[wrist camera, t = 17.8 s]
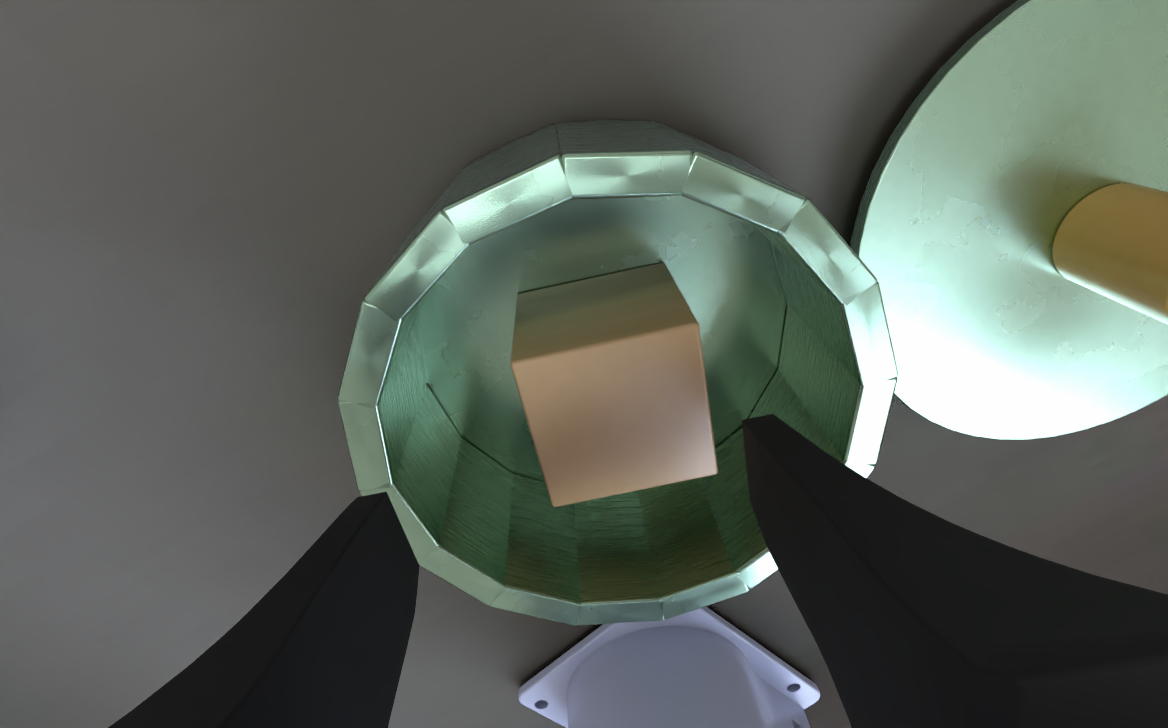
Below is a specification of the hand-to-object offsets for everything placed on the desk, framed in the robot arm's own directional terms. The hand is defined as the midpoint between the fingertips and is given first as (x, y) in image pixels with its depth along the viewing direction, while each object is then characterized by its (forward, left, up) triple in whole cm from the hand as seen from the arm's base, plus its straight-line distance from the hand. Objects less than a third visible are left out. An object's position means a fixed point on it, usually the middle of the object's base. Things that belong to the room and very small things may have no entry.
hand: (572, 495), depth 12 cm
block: (0, -1, -6) cm, 6 cm away
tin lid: (-7, -12, -6) cm, 15 cm away
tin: (0, -1, -6) cm, 6 cm away
